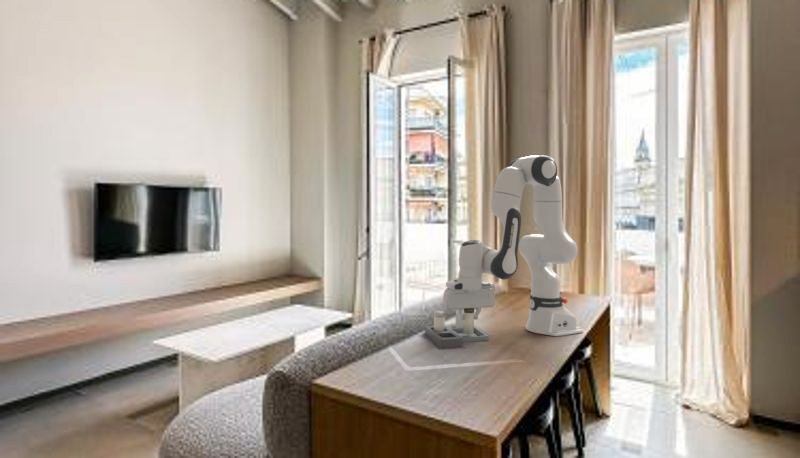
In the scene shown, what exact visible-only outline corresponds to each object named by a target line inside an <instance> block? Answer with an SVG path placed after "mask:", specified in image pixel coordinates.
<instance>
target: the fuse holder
mask: <svg viewBox="0 0 800 458" xmlns="http://www.w3.org/2000/svg"><path fill="white" fill-rule="evenodd" d="M450 329H451V328H449V327H448V326H446V325H444V331H434V325H425V326H424V332H422V333H421V332H420V334H421V335H422V336H423V337H425V338H426V339H427V340H428V341H429V342H430V343H431V344H432V345H433V346H434V347H436V348H437V349H438V350H453V349H466V348H467V347H466V346H464V345H463V342H462V338H461V337H462V336H461V335H460V336H461V337H460V336H458V335H457V334H458V333H457V334H456V333H454V332H453V331H452V330H450Z"/></svg>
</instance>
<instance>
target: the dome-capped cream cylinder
mask: <svg viewBox="0 0 800 458" xmlns="http://www.w3.org/2000/svg"><path fill="white" fill-rule="evenodd" d="M445 315H446V312H445V311H443V310H435V311H434V312H433V326H434V331H444V325H445V324H446V323H445V321H446V317H445ZM445 326H446V325H445Z"/></svg>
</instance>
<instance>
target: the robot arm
mask: <svg viewBox="0 0 800 458" xmlns="http://www.w3.org/2000/svg"><path fill="white" fill-rule="evenodd" d="M495 181H496V182H495V184H494V188H493V190H492V194H491V200H490V209H491V212H492V214H493V215H495V217H497V218H498V219H499V221H500V222H501V224H502V234H501V243H500V248H499V249H494V248H491V247H490V246H487V245H486V244H485V243H483V242H482V241H480V240H477V239H473V240H472V239H471V240H467V241H464V242H463V243H462V244H461V245H460V248H459V256H458V266H459V271H458V277H457V278H453V279H451V280H447V281H446V282H445V287H446V288H445V289H444V292H443V297H442V306H443V307H444V309H446V310H456V311H458V313H459V314H460V320H465V315H463V314H462V312H461V311H463V309H465V308H475V310H476V311H474V321H475V320H479V315H480V313H481V311H482V308H483V309H484V308H494V307H495V306H496V295H495V292H496V286H495V284H493V283H492V282H483V274H484V273H485V274H488V275H491V276H493V277H496V278H497V279H501V280H504V281H505V280H508V279H510V278H512V277H513V276H514V275H515V274H516V273H517V270H518V267H519V259H518V252H519V254H520V255H521V256H522V257H523V258H524V260H525V262H526V264H527V266H528V269H529V272H530V281H531V282H530V286H531V287H530V289H531V290H530V294H529V314H528V319H527V321H526V326H525V329H526V330H527V331H529V332H531V333H535V334H538V335H539V334H540V335H545V336H546V335H547V336H552V337H561V336H562V337H563V336H568V335H575V334H576V335H577V334H582V333H583V329H582V328H581V327H580V326H578V324H577V319H576V316H575V314H574V313H572V312H571V311H570V310H568V309H567V308H566V307H565V306H564V304H567V303H568V298H566V297H563V298H562V297H561V296H560V289H561V288H560V287H561V285H560V283H561V278H560V276H559V274H557V273H556V272H555V271H554V270H553V268H552V266H551V264H556V265H566V264H572V263H573V262H574V261H575V260H576V258H577V257H578V253H579V251H578V250H579V249H578V245H577V243H576V241H575V240H573V238H572V237H571V236H570V234H568V232H567V229H566V227H565V224H564V220H563V191H562V183H561V179H560V177H559V176H558V166H557V164H556V161H555V160H554V158H553V157H551V156H548V155H543V154H542V155H529V156H524V157H518V158H515V159H513V160H511V161H510V162H509V164H508V165H507V167H504V168H503V169H501V171H500V172H499V174H498V176H497V179H496V180H495ZM527 185H530V186H532V189H533V199H532V200H533V208H532V209H533V211H532V213H533V214H532V215H533V217H532V219H533V221H534V223H535V224H537V225H538V226H539V228H540V229H541V231H542V233H543V234H540V233H534V234H533V233H531V234H527V235H524V236H522V238H520V234H521V233H520V232H521V226H522V224H521V223H522V215H521V203H522V198H523V193H524V189H525V187H526V186H527ZM563 303H564V304H563Z"/></svg>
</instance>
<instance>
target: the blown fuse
mask: <svg viewBox="0 0 800 458" xmlns="http://www.w3.org/2000/svg"><path fill="white" fill-rule="evenodd" d="M475 310H476V309H475V308H465V309H464V315H465V320H463V332H462V333H463V334H466V335H473V334H475V332H474V327H475V320H474V314H475Z"/></svg>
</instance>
